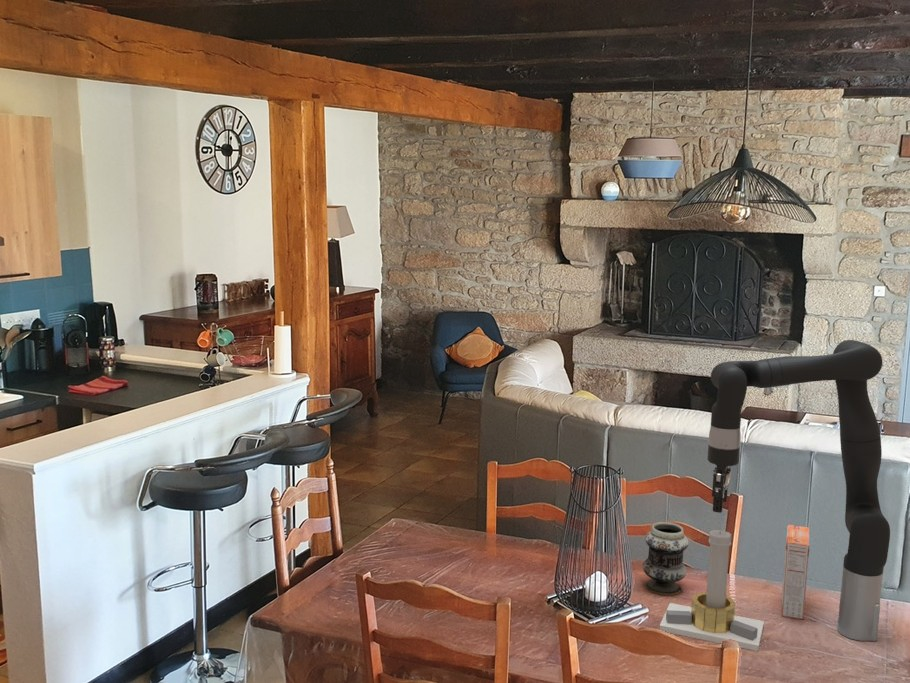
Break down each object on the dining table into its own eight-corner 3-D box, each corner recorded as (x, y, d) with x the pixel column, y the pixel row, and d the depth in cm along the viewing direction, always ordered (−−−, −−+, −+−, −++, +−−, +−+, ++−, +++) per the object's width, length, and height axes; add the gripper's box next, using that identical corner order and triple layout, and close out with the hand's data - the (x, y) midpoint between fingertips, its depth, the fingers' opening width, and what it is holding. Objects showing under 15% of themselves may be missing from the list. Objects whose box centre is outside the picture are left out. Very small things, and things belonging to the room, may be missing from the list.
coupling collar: (735, 618, 237) (737, 597, 236) (730, 636, 228) (732, 613, 227) (694, 610, 241) (696, 589, 240) (688, 627, 232) (689, 605, 231)
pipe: (726, 629, 231) (734, 516, 226) (700, 627, 233) (708, 514, 227) (724, 619, 237) (732, 508, 231) (699, 617, 238) (706, 506, 233)
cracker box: (781, 595, 255) (787, 523, 252) (804, 599, 253) (810, 526, 250) (779, 616, 242) (786, 541, 239) (804, 620, 240) (810, 545, 237)
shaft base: (763, 626, 237) (764, 612, 236) (758, 651, 224) (759, 636, 223) (669, 608, 246) (670, 594, 245) (659, 630, 233) (660, 616, 233)
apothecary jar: (682, 600, 251) (686, 538, 248) (637, 592, 255) (641, 531, 252) (688, 583, 262) (692, 523, 259) (645, 575, 266) (649, 516, 263)
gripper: (736, 453, 219) (731, 518, 221) (743, 438, 232) (738, 500, 234) (704, 449, 222) (699, 513, 224) (712, 435, 235) (708, 495, 237)
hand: (719, 506), depth 229 cm, fingers open, 8 cm apart
